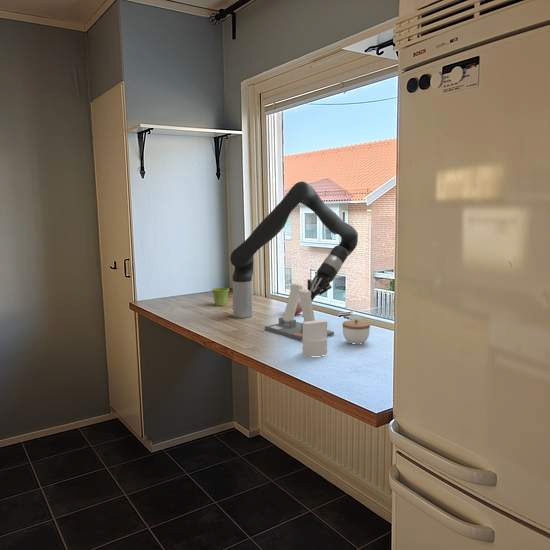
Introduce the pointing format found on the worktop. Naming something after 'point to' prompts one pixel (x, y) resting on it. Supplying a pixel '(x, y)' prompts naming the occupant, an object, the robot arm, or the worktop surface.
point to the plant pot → (220, 296)
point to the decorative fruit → (298, 307)
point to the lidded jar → (356, 331)
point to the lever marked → (306, 305)
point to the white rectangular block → (315, 338)
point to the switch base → (290, 329)
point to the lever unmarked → (292, 303)
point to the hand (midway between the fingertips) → (308, 300)
